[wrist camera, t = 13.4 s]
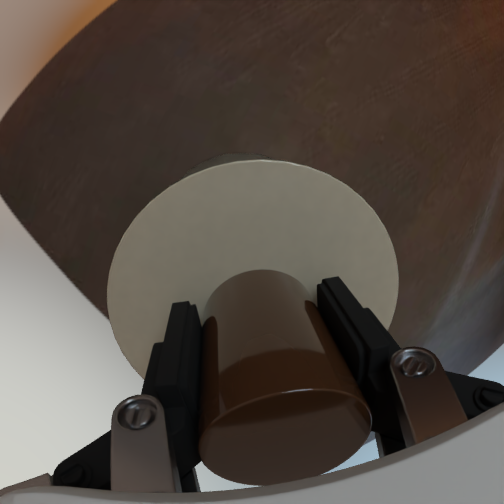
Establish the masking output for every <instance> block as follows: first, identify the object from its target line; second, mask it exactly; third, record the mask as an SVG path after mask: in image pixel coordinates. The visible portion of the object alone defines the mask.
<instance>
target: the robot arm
mask: <svg viewBox="0 0 504 504" xmlns="http://www.w3.org/2000/svg"><path fill="white" fill-rule="evenodd" d="M317 308H318V309H319V311H320V313H321V315H322V317H323V319H324V321H325V322H326V324H327V326H328V328H329V330H330V332H331V334H332V336H333V338H334V339H335V341H336V343H337V345H338V347H339V349H340V351H341V353H342V355H343V356H344V358H345V360H346V362H347V364H348V366H349V368H350V370H351V372H352V374H353V376H354V378H355V380H356V382H357V383H358V385H359V387H360V389H361V391H362V393H363V395H364V397H365V399H366V401H367V403H368V405H369V407H370V409H371V412H372V417H373V423H372V429H371V431H373V432H375V438H376V442H377V447H378V452H379V459H375V460H372V461H369V462H366V463H363V464H360V465H356V466H353V467H349V468H346V469H342V470H339V471H335V472H331V473H327V474H323V475H319V476H314V477H310V478H305V479H300V480H296V481H290V482H285V483H279V484H273V485H267V486H260V487H253V488H244V489H235V490H226V491H212V492H201V491H200V487H199V483H198V479H197V475H196V471H195V468H194V467H195V466H196V465H197V464H198V463H200V462H201V459H200V456H199V454H198V407H199V380H200V358H201V339H202V326H201V322H200V318H199V314H198V310H197V306H196V304H192V305H190V302H189V301H183V302H176V303H172V306H171V311H170V315H169V319H168V323H167V328H166V332H165V337H164V341H163V342H157V343H154V345H153V348H152V351H151V355H150V359H149V363H148V367H147V371H146V376H145V380H144V384H143V388H142V393H141V395H135V396H131V397H129V398H127V399H125V400H123V401H122V402H121V403H119V404H118V405H117V407H116V408H115V410H114V411H113V415H112V423H111V424H112V425H111V430H110V431H109V432H107V433H105V434H104V435H103V436H101V437H99V438H98V439H96V440H95V441H93V442H92V443H91V444H89V445H87V446H86V447H84V448H82V449H81V450H79V451H78V452H76V453H75V454H73V455H71V456H70V457H68V458H67V459H65V460H64V461H62V462H61V463H60V464H59V465H58V466H57V467H56V469H55V471H54V474H53V475H52V476H50V475H49V474H48V473H46V474H43V475H41V476H38V477H35V478H32V479H29V480H27V481H24V482H21V483H18V484H15V485H12V486H8V487H6V488H3V489H1V490H0V504H504V386H503V385H501V384H500V383H497V382H494V381H489V380H484V379H479V378H474V377H469V376H465V375H461V374H456V373H452V372H447V371H444V369H443V367H442V365H441V363H440V361H439V359H438V358H437V357H436V355H435V354H434V353H432V352H431V351H429V350H427V349H424V348H421V347H406V348H403V349H401V348H400V347H399V345H398V344H397V343H396V342H395V340H394V339H393V338H392V336H391V335H390V334H389V332H388V331H387V330H386V329H385V327H384V326H383V325H382V323H381V322H380V321H379V320H378V318H377V317H376V316H375V314H374V313H373V312H372V311H371V310H370V309H369V308H367V307H366V308H363V307H362V306H361V304H360V303H359V302H358V300H357V299H356V298H355V296H354V295H353V294H352V293H351V291H350V290H349V289H348V287H347V286H346V285H345V284H344V282H343V281H342V280H341V278H340V277H339V276H336V277H331V278H325V279H322V283H321V284H317Z"/></svg>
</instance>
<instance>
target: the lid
mask: <svg viewBox="0 0 504 504" xmlns="http://www.w3.org/2000/svg"><path fill="white" fill-rule="evenodd" d="M336 276H339V277H340V278H341V280H342V281H343V282H344V284H345V285H346V286H347V287H348V289H349V290H350V291H351V293H352V294H353V295H354V296H355V298H356V299H357V300H358V302H359V303H360V304H361V306H362V307H363V308H366V307H367V308H369V309H370V310H371V311H372V312H373V313H374V314H375V316H376V317H377V318H378V320H379V321H380V322H381V323H382V325H383V326H384V327H385V329H386V330H387V331H388V328H389V326H390V324H391V321H392V318H393V315H394V311H395V308H396V302H397V296H398V267H397V259H396V256H395V252H394V248H393V245H392V242H391V239H390V237H389V235H388V233H387V231H386V228H385V226H384V225H383V223H382V222H381V220H380V219H379V217H378V216H377V214H376V213H375V211H374V210H373V209H372V208H371V207H370V206H369V204H368V203H367V202H366V201H365V200H364V199H363V198H362V197H361V196H360V195H359V194H357V193H356V192H355V191H354V190H352V189H351V188H350V187H349V186H347V185H346V184H344V183H343V182H341V181H339V180H337V179H336V178H334V177H332V176H330V175H329V174H326V173H324V172H321V171H319V170H316V169H314V168H311V167H308V166H306V165H303V164H298V163H294V162H289V161H284V160H276V159H262V158H256V159H243V160H234V161H229V162H225V163H220V164H216V165H212V166H209V167H207V168H204V169H201V170H199V171H196V172H193V173H191V174H189V175H187V176H186V177H184V178H182V179H180V180H178V181H177V182H175V183H173V184H171V185H170V186H169V187H167V188H166V189H165V190H163V191H162V192H161V193H160V194H158V195H157V196H156V197H154V198H153V199H152V200H151V201H150V202H149V203H148V205H147V206H146V207H145V208H144V209H143V210H142V211H141V212H140V213H139V214H138V215H137V216H136V217H135V219H134V220H133V222H132V223H131V224H130V226H129V227H128V229H127V230H126V231H125V233H124V235H123V237H122V239H121V241H120V243H119V245H118V247H117V249H116V251H115V254H114V257H113V260H112V264H111V267H110V271H109V277H108V285H107V307H108V313H109V318H110V323H111V326H112V329H113V333H114V336H115V339H116V340H117V343H118V345H119V346H120V349H121V351H122V353H123V354H124V356H125V357H126V359H127V360H128V361H129V363H130V364H131V366H132V367H133V368H134V369H135V370H136V372H138V374H139V375H140V376H141V377H142V378H143V379H144V380H145V376H146V371H147V367H148V363H149V359H150V355H151V351H152V348H153V345H154V343H157V342H163V341H164V337H165V332H166V328H167V323H168V319H169V315H170V311H171V306H172V303H176V302H183V301H189V302H190V305H192V304H196V306H197V310H198V314H199V318H200V322H201V326H202V339H201V358H200V380H199V407H198V454H199V456H200V459H201V461H202V462H203V464H204V465H205V466H206V467H207V468H208V469H209V470H211V471H212V472H213V473H214V474H216V475H218V476H220V477H222V478H224V479H227V480H230V481H233V482H236V483H242V484H247V485H258V486H267V485H273V484H279V483H285V482H290V481H296V480H300V479H305V478H310V477H314V476H318V475H321V474H323V473H325V472H328V471H329V470H331V469H333V468H335V467H337V466H339V465H340V464H342V463H343V462H345V461H346V460H348V459H349V458H350V457H351V456H352V455H354V454H355V453H356V452H357V451H358V450H359V449H360V448H361V447H362V445H363V444H364V443H365V441H366V440H367V438H368V436H369V434H370V432H371V429H372V423H373V417H372V412H371V409H370V407H369V405H368V403H367V401H366V399H365V397H364V395H363V393H362V391H361V389H360V387H359V385H358V383H357V382H356V380H355V378H354V376H353V374H352V372H351V370H350V368H349V366H348V364H347V362H346V360H345V358H344V356H343V355H342V353H341V351H340V349H339V347H338V345H337V343H336V341H335V339H334V338H333V336H332V334H331V332H330V330H329V328H328V326H327V324H326V322H325V321H324V319H323V317H322V315H321V313H320V311H319V309H318V308H317V284H321V283H322V279H325V278H331V277H336Z"/></svg>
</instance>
